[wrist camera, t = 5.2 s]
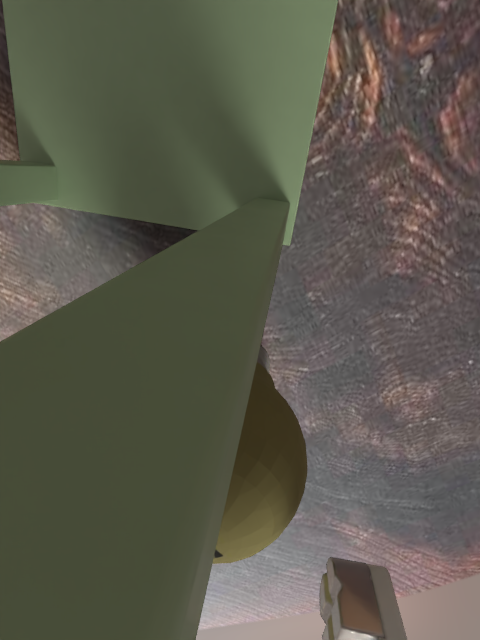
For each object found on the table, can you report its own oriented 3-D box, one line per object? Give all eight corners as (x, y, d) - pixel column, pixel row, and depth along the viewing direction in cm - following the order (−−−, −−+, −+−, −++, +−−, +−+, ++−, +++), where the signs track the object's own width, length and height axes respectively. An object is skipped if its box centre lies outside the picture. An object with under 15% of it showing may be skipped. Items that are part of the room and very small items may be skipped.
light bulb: (325, 368, 17) (356, 581, 8) (239, 415, 19) (187, 628, 10) (259, 281, 16) (211, 419, 7) (175, 340, 18) (50, 508, 9)
